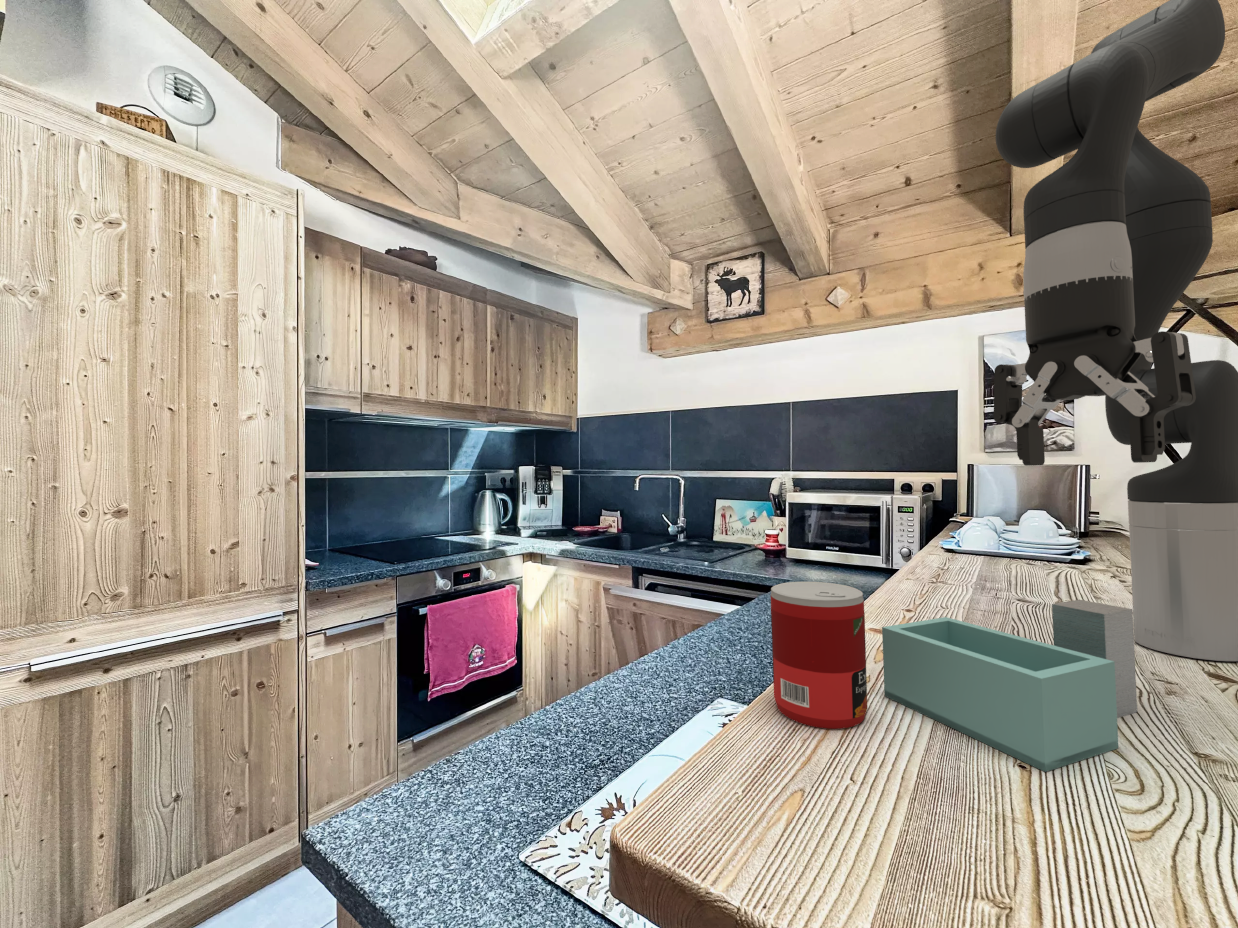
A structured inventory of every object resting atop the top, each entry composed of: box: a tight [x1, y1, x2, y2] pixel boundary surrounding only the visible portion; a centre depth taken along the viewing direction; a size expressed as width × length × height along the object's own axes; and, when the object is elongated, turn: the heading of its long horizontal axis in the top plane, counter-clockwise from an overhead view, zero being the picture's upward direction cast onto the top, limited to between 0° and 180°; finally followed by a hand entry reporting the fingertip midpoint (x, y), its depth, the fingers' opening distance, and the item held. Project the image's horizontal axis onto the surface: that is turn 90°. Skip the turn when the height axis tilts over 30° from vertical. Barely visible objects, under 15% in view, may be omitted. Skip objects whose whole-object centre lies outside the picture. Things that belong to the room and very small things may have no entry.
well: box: [881, 616, 1119, 773], centre depth 45 cm, size 8×14×7 cm, turn 20°
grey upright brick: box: [1051, 599, 1138, 719], centre depth 47 cm, size 4×4×9 cm
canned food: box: [770, 581, 868, 730], centre depth 48 cm, size 8×8×11 cm
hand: (1084, 464), depth 48 cm, fingers open, 8 cm apart
